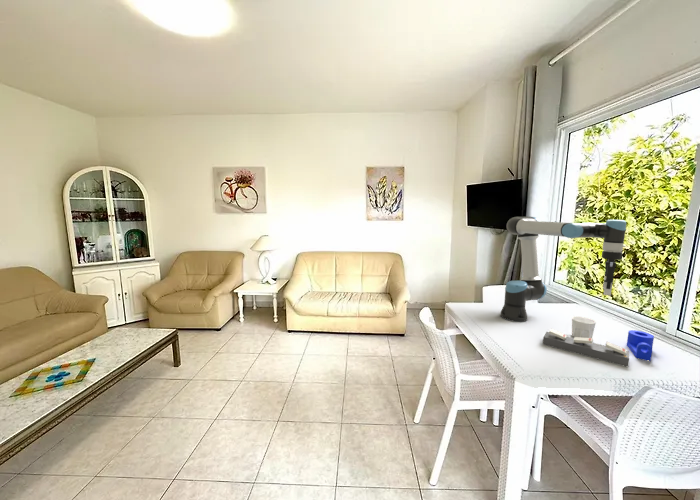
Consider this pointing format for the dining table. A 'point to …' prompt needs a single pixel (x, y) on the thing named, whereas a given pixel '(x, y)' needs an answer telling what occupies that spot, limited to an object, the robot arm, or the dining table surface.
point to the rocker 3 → (615, 348)
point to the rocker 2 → (583, 340)
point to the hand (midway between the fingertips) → (606, 292)
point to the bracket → (640, 344)
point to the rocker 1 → (558, 334)
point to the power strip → (587, 349)
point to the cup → (582, 327)
